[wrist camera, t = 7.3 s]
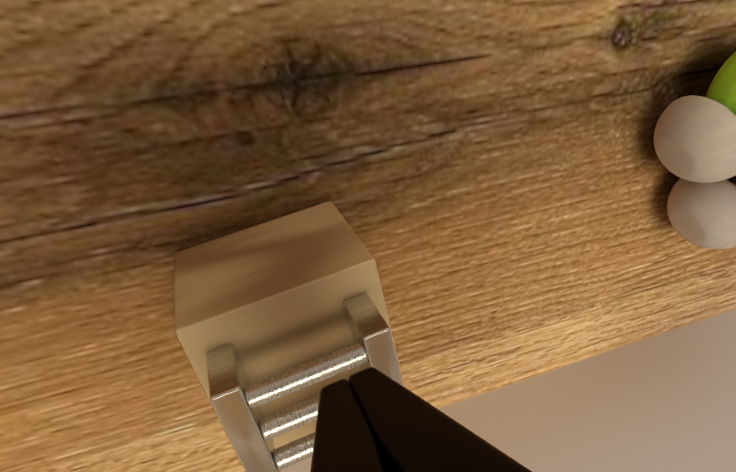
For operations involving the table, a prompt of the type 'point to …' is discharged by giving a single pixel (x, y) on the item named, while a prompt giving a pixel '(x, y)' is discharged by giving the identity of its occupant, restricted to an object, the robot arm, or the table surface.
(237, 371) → the wire rack
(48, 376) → the table surface
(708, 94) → the rainbow wheeled toy
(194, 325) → the tan wooden cube
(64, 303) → the table surface
